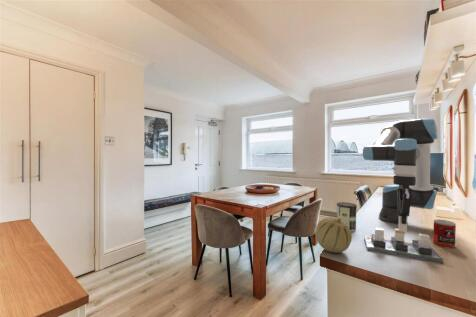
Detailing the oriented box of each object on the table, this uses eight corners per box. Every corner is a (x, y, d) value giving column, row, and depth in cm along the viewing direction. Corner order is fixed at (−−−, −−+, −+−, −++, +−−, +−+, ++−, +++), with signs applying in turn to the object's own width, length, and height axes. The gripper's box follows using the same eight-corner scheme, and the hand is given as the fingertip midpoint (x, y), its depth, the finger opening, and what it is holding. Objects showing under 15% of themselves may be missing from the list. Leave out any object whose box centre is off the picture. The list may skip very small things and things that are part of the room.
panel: (364, 239, 110) (364, 221, 110) (430, 249, 99) (430, 229, 99) (367, 250, 97) (367, 230, 97) (443, 263, 86) (444, 240, 86)
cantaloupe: (317, 241, 106) (317, 211, 106) (351, 248, 99) (352, 215, 99) (312, 253, 93) (313, 219, 93) (351, 262, 86) (352, 224, 86)
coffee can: (352, 226, 130) (353, 202, 130) (358, 232, 120) (359, 206, 120) (334, 224, 132) (334, 201, 132) (338, 230, 122) (339, 205, 122)
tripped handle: (394, 238, 100) (394, 228, 100) (402, 239, 99) (403, 229, 98) (395, 240, 98) (395, 230, 97) (404, 241, 96) (404, 231, 96)
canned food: (438, 246, 102) (438, 223, 102) (429, 240, 110) (430, 218, 109) (459, 249, 99) (459, 225, 99) (449, 242, 107) (449, 220, 107)
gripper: (390, 174, 100) (389, 225, 100) (397, 176, 88) (395, 234, 88) (410, 174, 97) (409, 227, 97) (420, 177, 85) (418, 237, 85)
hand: (402, 230), depth 93 cm, fingers closed
